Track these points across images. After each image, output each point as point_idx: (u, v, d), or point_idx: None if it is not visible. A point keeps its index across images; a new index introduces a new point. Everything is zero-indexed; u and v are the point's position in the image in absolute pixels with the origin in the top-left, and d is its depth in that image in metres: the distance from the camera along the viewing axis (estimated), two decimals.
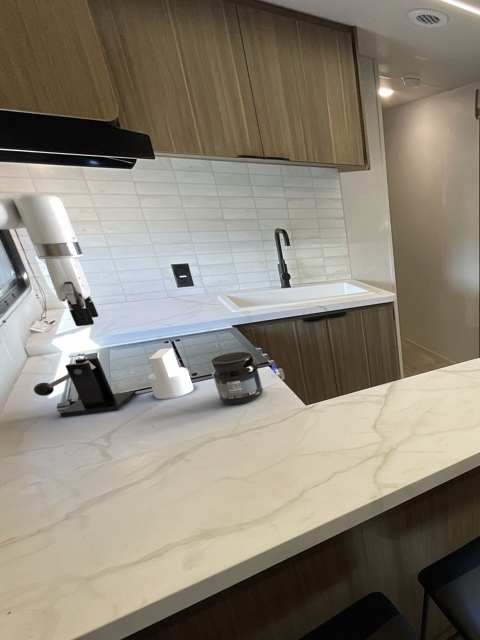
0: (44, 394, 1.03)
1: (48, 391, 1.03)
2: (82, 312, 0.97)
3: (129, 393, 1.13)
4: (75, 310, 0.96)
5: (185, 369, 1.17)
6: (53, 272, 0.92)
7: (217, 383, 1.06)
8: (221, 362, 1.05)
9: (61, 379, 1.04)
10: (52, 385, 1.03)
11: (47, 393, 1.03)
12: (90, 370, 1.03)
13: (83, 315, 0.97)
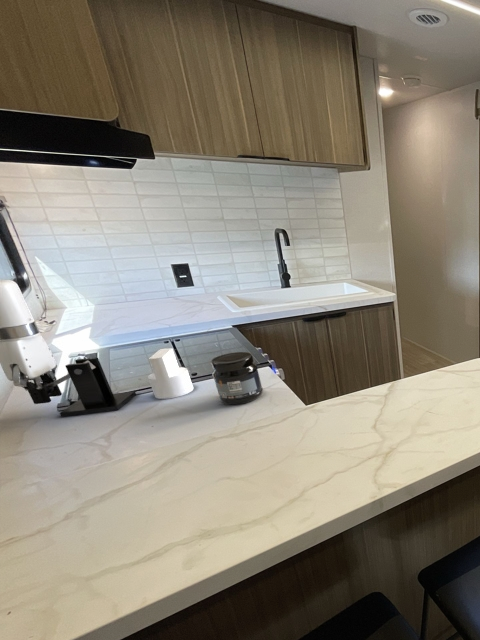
0: None
1: (48, 391, 1.03)
2: (37, 392, 1.01)
3: (129, 393, 1.13)
4: (31, 390, 1.00)
5: (185, 369, 1.17)
6: (0, 355, 0.95)
7: (217, 383, 1.06)
8: (221, 362, 1.05)
9: (61, 379, 1.04)
10: (52, 385, 1.03)
11: None
12: (90, 370, 1.03)
13: (38, 395, 1.01)
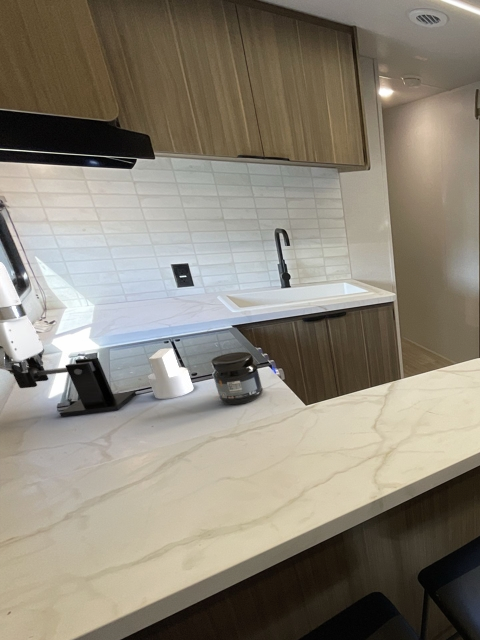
0: None
1: (34, 378, 1.01)
2: (23, 376, 0.99)
3: (129, 393, 1.13)
4: (16, 374, 0.98)
5: (185, 369, 1.17)
6: None
7: (217, 383, 1.06)
8: (221, 362, 1.05)
9: (55, 371, 1.03)
10: (41, 373, 1.02)
11: None
12: (90, 370, 1.03)
13: (24, 379, 0.99)
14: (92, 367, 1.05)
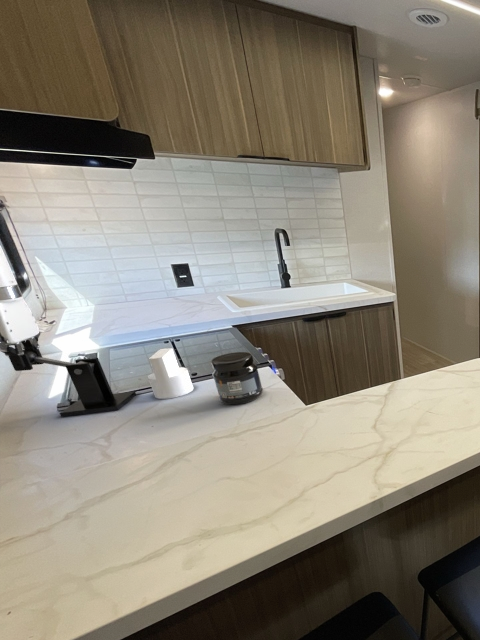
0: None
1: None
2: (18, 358, 0.97)
3: (129, 393, 1.13)
4: (11, 356, 0.97)
5: (185, 369, 1.17)
6: None
7: (217, 383, 1.06)
8: (221, 362, 1.05)
9: (53, 362, 1.02)
10: (38, 361, 1.01)
11: None
12: (90, 370, 1.03)
13: (19, 361, 0.98)
14: (92, 369, 1.06)
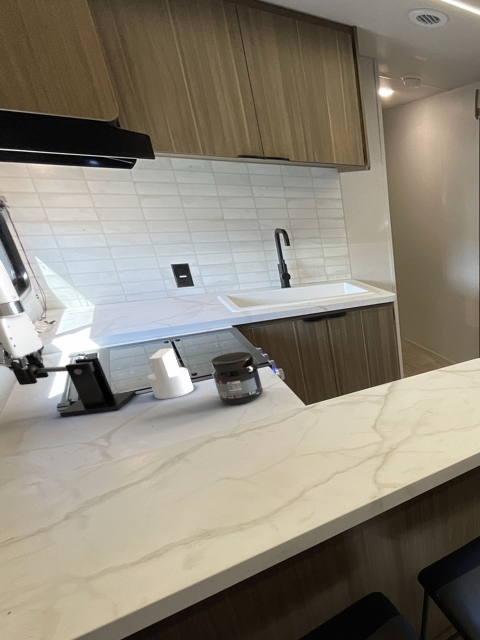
0: None
1: None
2: (22, 372, 0.99)
3: (129, 393, 1.13)
4: (16, 371, 0.98)
5: (185, 369, 1.17)
6: None
7: (217, 383, 1.06)
8: (221, 362, 1.05)
9: (54, 369, 1.02)
10: (40, 371, 1.02)
11: None
12: (90, 370, 1.03)
13: (23, 375, 0.99)
14: (92, 367, 1.06)
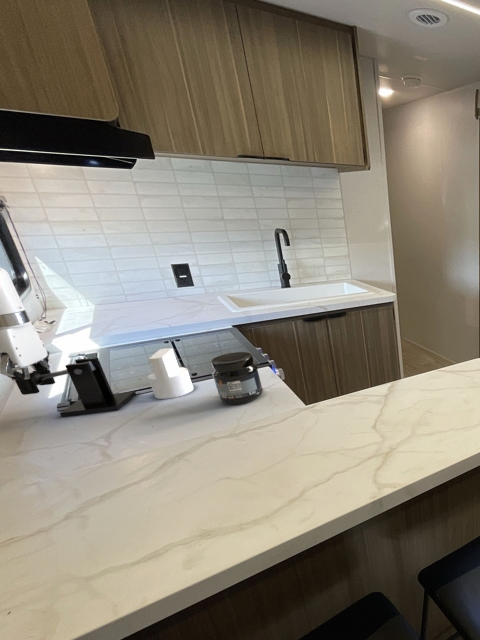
0: None
1: (38, 382, 1.02)
2: (25, 382, 0.99)
3: (129, 393, 1.13)
4: (18, 381, 0.98)
5: (185, 369, 1.17)
6: None
7: (217, 383, 1.06)
8: (221, 362, 1.05)
9: (56, 374, 1.03)
10: (44, 377, 1.02)
11: (36, 384, 1.02)
12: (90, 370, 1.03)
13: (26, 385, 0.99)
14: (92, 366, 1.05)
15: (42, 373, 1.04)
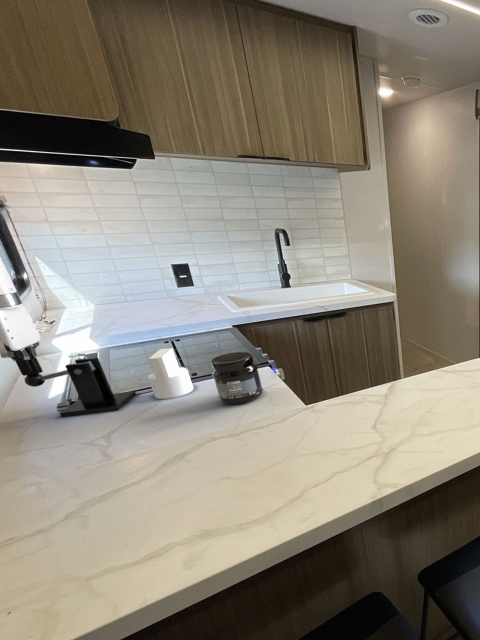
0: (34, 385, 1.02)
1: (39, 383, 1.02)
2: (25, 363, 0.99)
3: (129, 393, 1.13)
4: (18, 361, 0.99)
5: (185, 369, 1.17)
6: None
7: (217, 383, 1.06)
8: (221, 362, 1.05)
9: (57, 374, 1.03)
10: (45, 378, 1.02)
11: (37, 385, 1.02)
12: (90, 370, 1.03)
13: (26, 366, 1.00)
14: (92, 366, 1.05)
15: None
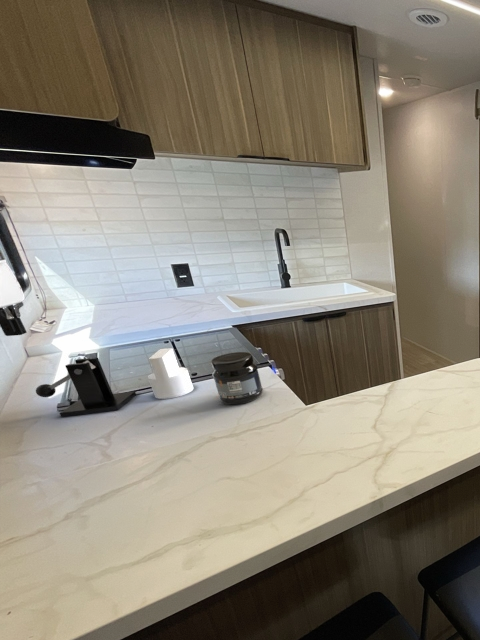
0: (46, 395, 1.03)
1: (50, 393, 1.03)
2: (8, 322, 0.96)
3: (129, 393, 1.13)
4: (1, 320, 0.95)
5: (185, 369, 1.17)
6: None
7: (217, 383, 1.06)
8: (221, 362, 1.05)
9: (62, 380, 1.04)
10: (53, 386, 1.04)
11: (49, 394, 1.04)
12: (90, 370, 1.03)
13: (9, 325, 0.96)
14: (91, 365, 1.05)
15: None
